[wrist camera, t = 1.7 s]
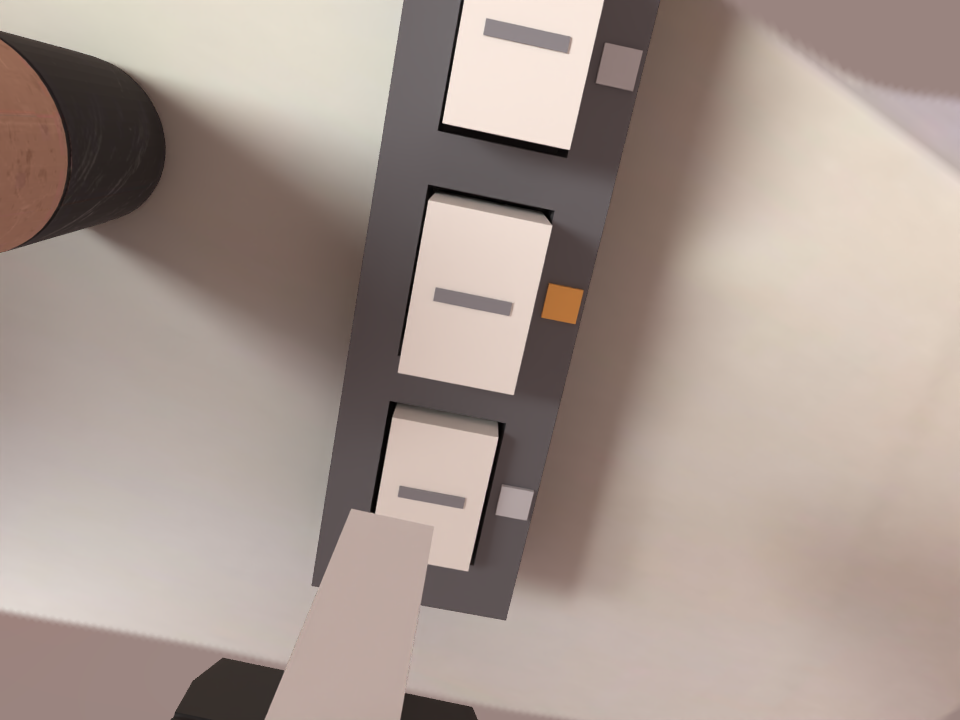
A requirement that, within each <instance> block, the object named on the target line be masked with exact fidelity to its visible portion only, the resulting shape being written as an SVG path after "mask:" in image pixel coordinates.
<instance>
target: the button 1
mask: <svg viewBox="0 0 960 720" xmlns="http://www.w3.org/2000/svg"><path fill="white" fill-rule="evenodd" d="M497 442H498V421H492V420H487V419H482V418H477V417H472V416H466V415H461V414H456V413H451V412H445V411H440V410H435V409H430V408H425V407H419V406H414V405H409V404H404V403H399V402H397V405H396V408H395V411H394V414H393V417H392V423H391V428H390V434H389V440H388V445H387V451H386V456H385V462H384V467H383V473H382V478H381V484H380V489H379V495H378V501H377V506H376V512H375V514H378V515H383V516H388V517H392V518H397V519H402V520H406V521H411V522H415V523H420V524H425V525H429V526H434V531H433V536H432V542H431V548H430V554H429V559H428V564H430V565H435V566H441V567H446V568H452V569H457V570H463V571H468V570H469V565H470V561H471V556H472V552H473V548H474V543H475V539H476V534H477V530H478V526H479V521H480V517H481V512H482V508H483V504H484V499H485V495H486V490H487V486H488V481H489V477H490V473H491V468H492V464H493V459H494V455H495V451H496V446H497Z"/></svg>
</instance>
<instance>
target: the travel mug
mask: <svg viewBox="0 0 960 720" xmlns="http://www.w3.org/2000/svg"><path fill="white" fill-rule="evenodd" d="M164 160H165V140H164V133H163V129H162V125H161V122H160V119H159V117H158V114H157V112H156V110H155V108H154V106H153V104H152V102H151V101H150V99H149V98H148V96H147V95H146V93H145V92H144V91H143V90H142V89H141V87H140V86H139V85H138V84H137V83H136V82H135V81H134V80H133V79H132V78H131V77H130V76H128V75H127V74H126V73H124V72H123V71H122V70H120V69H119V68H117V67H115V66H114V65H112V64H110V63H108V62H106V61H103V60H101V59H99V58H96V57H93V56H90V55H86V54H83V53H80V52H76V51H72V50H69V49H65V48H62V47H58V46H54V45H50V44H47V43H43V42H39V41H36V40H32V39H28V38H25V37H21V36H17V35H13V34H10V33H6V32H2V31H0V253H1V252H5V251H9V250H12V249H16V248H19V247H22V246H26V245H29V244H33V243H36V242H39V241H43V240H46V239H50V238H53V237H56V236H60V235H63V234H67V233H70V232H73V231H77V230H80V229H84V228H87V227H90V226H94V225H97V224H101V223H104V222H107V221H110V220H113V219H116V218H119V217H121V216H123V215H126V214H128V213H130V212H131V211H133V210H135V209H136V208H138V207H139V206H140V205H141V204H142V203H144V202H145V201H146V199H147V198H148V197H149V196H150V195H151V193H152V192H153V190H154V189H155V187H156V186H157V183H158V181H159V179H160V177H161V174H162V170H163V167H164Z"/></svg>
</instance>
